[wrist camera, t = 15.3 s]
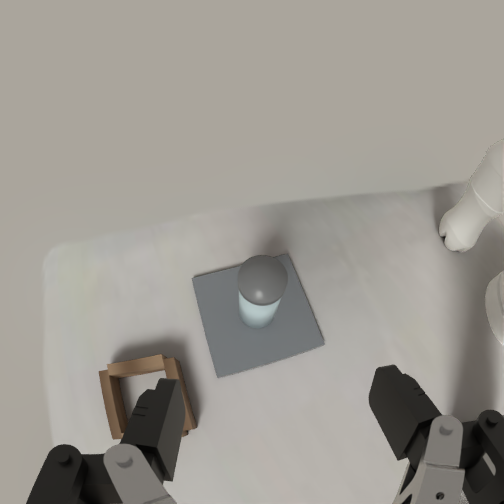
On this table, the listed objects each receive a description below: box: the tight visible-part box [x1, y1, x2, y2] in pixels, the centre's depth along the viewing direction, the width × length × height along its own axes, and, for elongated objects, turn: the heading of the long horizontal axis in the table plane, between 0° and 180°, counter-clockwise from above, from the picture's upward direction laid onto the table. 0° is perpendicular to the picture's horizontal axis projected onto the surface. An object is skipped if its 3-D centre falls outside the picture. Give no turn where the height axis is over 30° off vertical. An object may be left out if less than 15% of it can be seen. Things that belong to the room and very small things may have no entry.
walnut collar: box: [99, 354, 197, 439], centre depth 25 cm, size 9×9×2 cm
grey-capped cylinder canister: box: [238, 255, 288, 328], centre depth 27 cm, size 4×4×8 cm
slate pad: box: [192, 254, 325, 378], centre depth 31 cm, size 12×12×1 cm
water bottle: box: [439, 139, 504, 252], centre depth 27 cm, size 7×7×25 cm
